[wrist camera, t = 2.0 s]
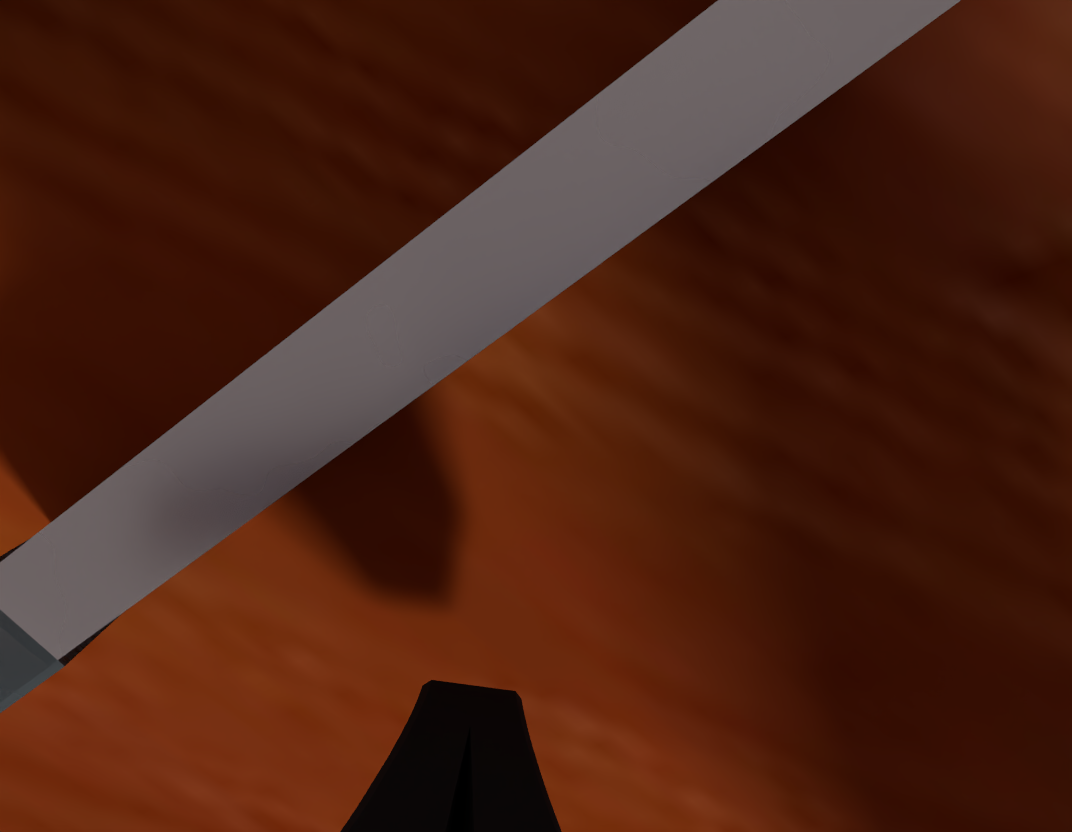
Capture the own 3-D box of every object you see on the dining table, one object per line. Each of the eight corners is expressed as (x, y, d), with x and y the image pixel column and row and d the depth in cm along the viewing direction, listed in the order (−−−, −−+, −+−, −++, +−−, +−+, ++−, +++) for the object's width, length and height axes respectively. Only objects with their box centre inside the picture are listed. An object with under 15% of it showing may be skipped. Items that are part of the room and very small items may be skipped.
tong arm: (926, -365, 7) (1228, -822, 4) (1040, -78, 7) (1363, -278, 5) (-47, 451, 9) (-309, 549, 6) (114, 603, 10) (-53, 751, 7)
